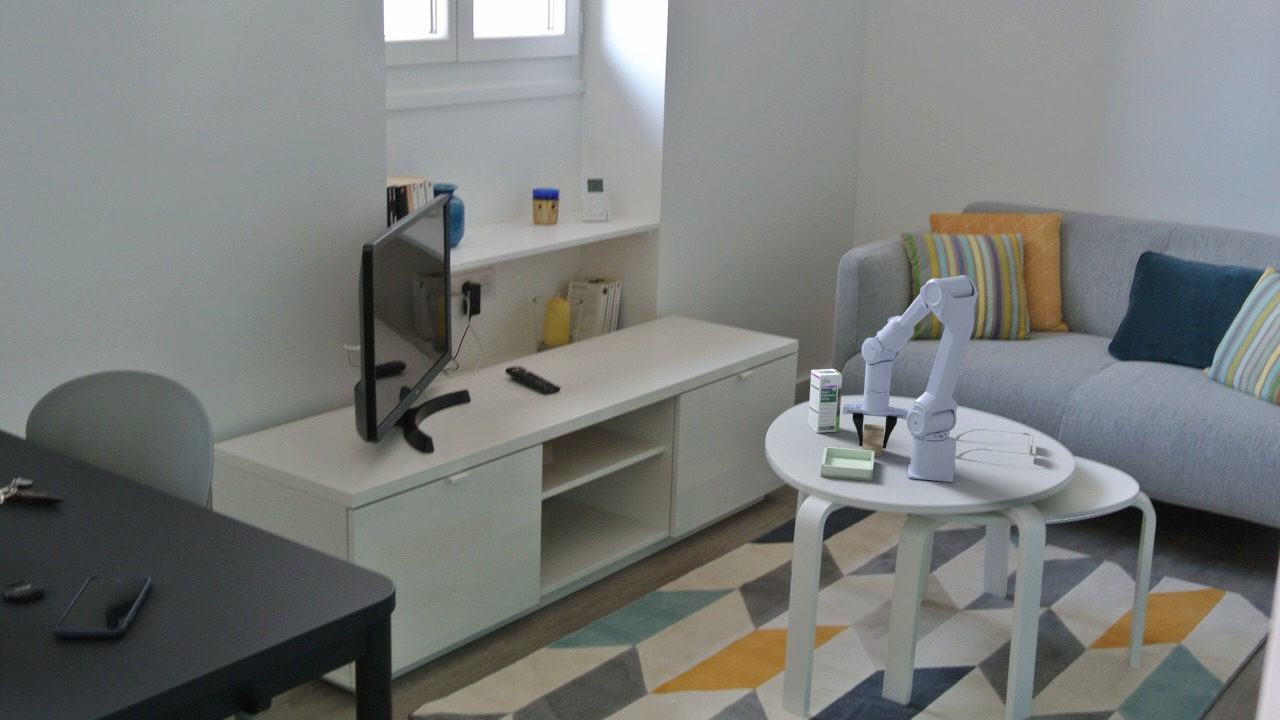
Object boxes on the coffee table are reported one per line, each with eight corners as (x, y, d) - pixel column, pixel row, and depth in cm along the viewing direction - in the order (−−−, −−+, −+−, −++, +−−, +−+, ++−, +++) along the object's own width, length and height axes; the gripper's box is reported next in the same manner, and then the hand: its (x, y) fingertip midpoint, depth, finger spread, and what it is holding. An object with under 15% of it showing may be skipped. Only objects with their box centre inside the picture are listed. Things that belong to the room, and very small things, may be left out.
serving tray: (873, 461, 283) (874, 450, 282) (872, 481, 270) (873, 470, 270) (824, 457, 285) (824, 446, 284) (820, 476, 273) (821, 465, 272)
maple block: (882, 450, 291) (884, 425, 289) (881, 456, 287) (883, 431, 285) (862, 448, 292) (864, 423, 290) (861, 454, 287) (863, 429, 286)
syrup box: (817, 433, 301) (820, 375, 297) (807, 426, 307) (811, 368, 303) (839, 432, 303) (843, 373, 299) (829, 424, 308) (833, 367, 304)
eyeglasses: (1035, 468, 283) (1037, 451, 282) (952, 461, 286) (954, 444, 285) (1029, 446, 297) (1031, 430, 296) (950, 440, 301) (952, 424, 300)
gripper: (909, 386, 288) (904, 443, 291) (845, 381, 290) (841, 438, 294) (909, 395, 281) (904, 453, 284) (844, 390, 284) (839, 447, 287)
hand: (872, 446), depth 289 cm, fingers open, 5 cm apart
